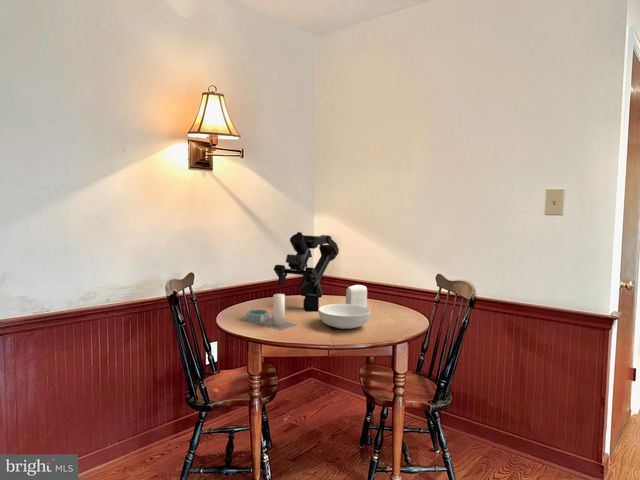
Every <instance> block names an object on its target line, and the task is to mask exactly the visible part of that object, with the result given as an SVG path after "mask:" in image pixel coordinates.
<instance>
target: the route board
mask: <svg viewBox="0 0 640 480" xmlns="http://www.w3.org/2000/svg"><path fill="white" fill-rule="evenodd" d="M239 320H240V321H244V322H247V323H252V324H255V325H259V326H262V327H265V328H271V329H273V330H277V331H284V330H286V329H289V328H292V327H296V326H297V323H296V324H295V323H292V322H287V321H285V325H284V326H274V325H273V312H271V317H269V316H268V320H267V321H264V316H261V322H250V321H248V320H247V316H246V317H242V318H240V319H239Z"/></svg>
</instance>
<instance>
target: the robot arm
mask: <svg viewBox="0 0 640 480" xmlns="http://www.w3.org/2000/svg"><path fill="white" fill-rule="evenodd" d="M289 242H290V245H291V246H292V248H293V250H294V251H295V252H296V254H287V255H286V258H285V263H287V264H288V268H286V266H285V265H284V264H276V265H274V267H273V271H274V273H275V274H276V276H277V277H278V282H277V283H278V284H277V285H278V289H281V288H282V287H283V285H284V283H285V281H286V280H287V275H288V274H290V275H297V276H302V279H301V281H300V284H299V285H298V288H297V289H298V291H299V292H300V295H301V297H304V298H303V305H302V306H303V309H304V311H305V312H319V311H318V309H319V308H320V306H319V303H320V302H319V301H320V300H319V299H321V298H322V297H323V290H322V288H321V283H320V281H321V279H322V277H323V276H324V273H325V272H326V269H327V267H328V266H329V264H330V262H331V261H334V260H335V259H336V258H337V256H338V255H339V252H340V251H339V249H340V248H339V247H338V244H337V242H336V241H334V240H333V239H332V236H331V235H325V234H322V235H317V236H316V235H306V234H305V235H303V232H301V231H298V232H296V233H295V234H293V235H291V237H290V238H289ZM316 248H318V250H319V252H320V257H319V259H318V260H317V262H316V265H315V266H314V267H308V262H309V259H310V258H312V256H313V255H312V251H311V249H313V250H314V249H316Z"/></svg>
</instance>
